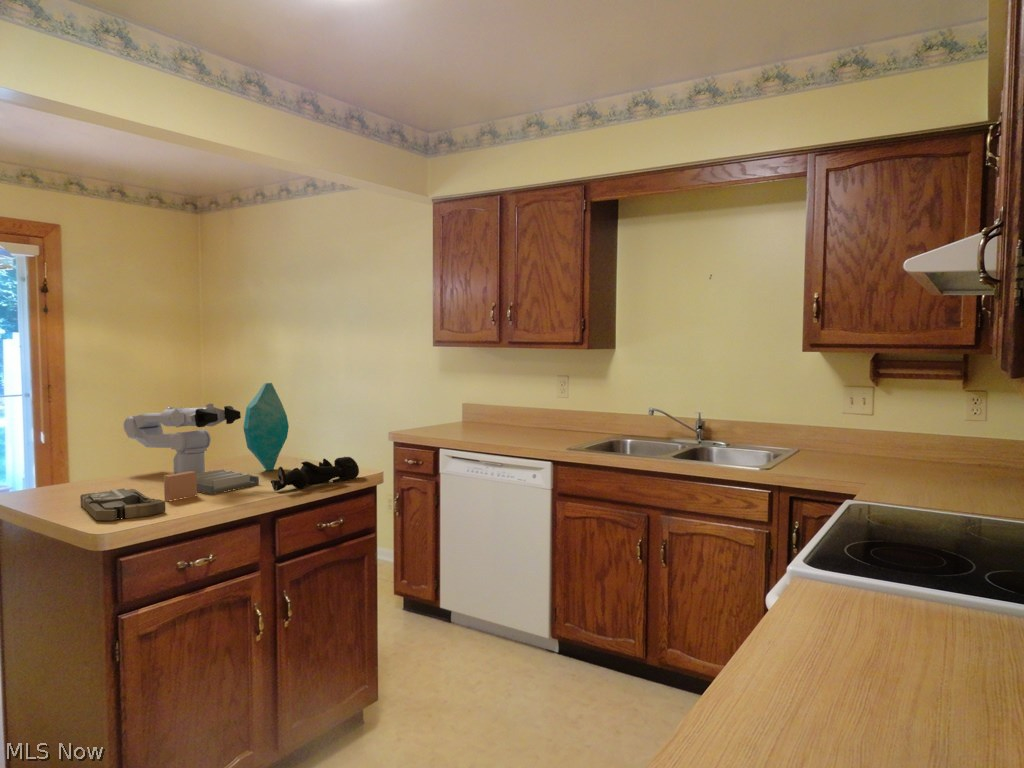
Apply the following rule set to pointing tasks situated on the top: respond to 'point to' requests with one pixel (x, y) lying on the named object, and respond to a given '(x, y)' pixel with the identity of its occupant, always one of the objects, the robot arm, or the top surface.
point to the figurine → (317, 473)
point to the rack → (223, 481)
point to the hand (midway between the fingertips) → (228, 416)
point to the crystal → (266, 426)
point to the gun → (120, 504)
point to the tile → (180, 485)
